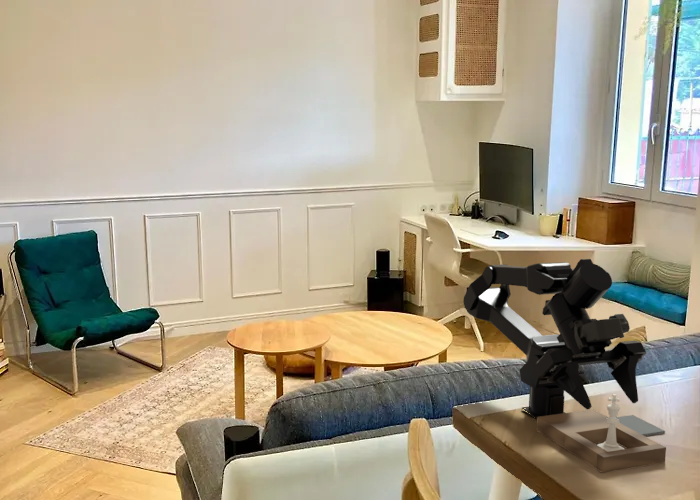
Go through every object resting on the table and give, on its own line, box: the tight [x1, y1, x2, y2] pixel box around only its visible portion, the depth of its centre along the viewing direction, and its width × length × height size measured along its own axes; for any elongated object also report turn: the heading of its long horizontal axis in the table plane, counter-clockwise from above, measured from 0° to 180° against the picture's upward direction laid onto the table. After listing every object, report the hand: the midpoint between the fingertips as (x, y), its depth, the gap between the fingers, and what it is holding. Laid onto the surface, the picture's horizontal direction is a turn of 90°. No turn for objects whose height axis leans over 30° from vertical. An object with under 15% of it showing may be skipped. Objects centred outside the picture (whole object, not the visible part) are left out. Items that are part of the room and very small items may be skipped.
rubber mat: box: [616, 414, 666, 437], centre depth 125 cm, size 8×8×1 cm
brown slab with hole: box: [536, 408, 667, 474], centre depth 117 cm, size 18×12×2 cm
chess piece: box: [596, 393, 625, 452], centre depth 114 cm, size 5×5×10 cm
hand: (612, 405), depth 113 cm, fingers open, 9 cm apart
